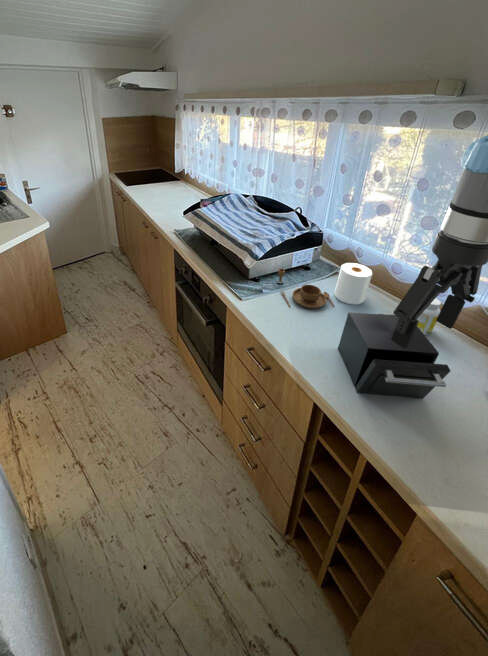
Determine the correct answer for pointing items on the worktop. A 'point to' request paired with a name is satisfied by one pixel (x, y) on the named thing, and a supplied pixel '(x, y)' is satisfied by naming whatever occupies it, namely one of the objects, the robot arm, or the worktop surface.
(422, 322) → the pill bottle
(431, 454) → the worktop surface
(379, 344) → the oven
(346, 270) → the toilet paper
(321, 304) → the place setting
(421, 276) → the robot arm
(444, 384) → the oven door
